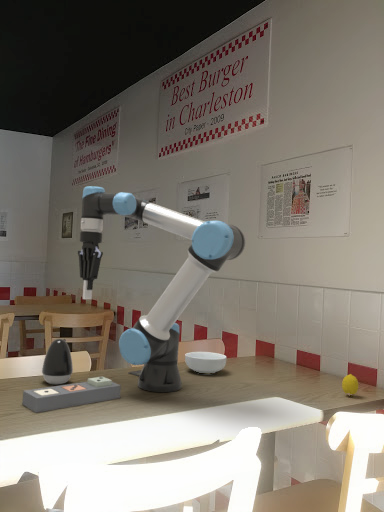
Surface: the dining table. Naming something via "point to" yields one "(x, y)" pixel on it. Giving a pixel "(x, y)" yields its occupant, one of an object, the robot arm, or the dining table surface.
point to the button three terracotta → (73, 388)
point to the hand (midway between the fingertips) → (87, 299)
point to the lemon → (350, 384)
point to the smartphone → (135, 373)
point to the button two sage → (99, 382)
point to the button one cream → (46, 392)
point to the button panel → (69, 396)
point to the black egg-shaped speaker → (57, 363)
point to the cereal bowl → (205, 361)
